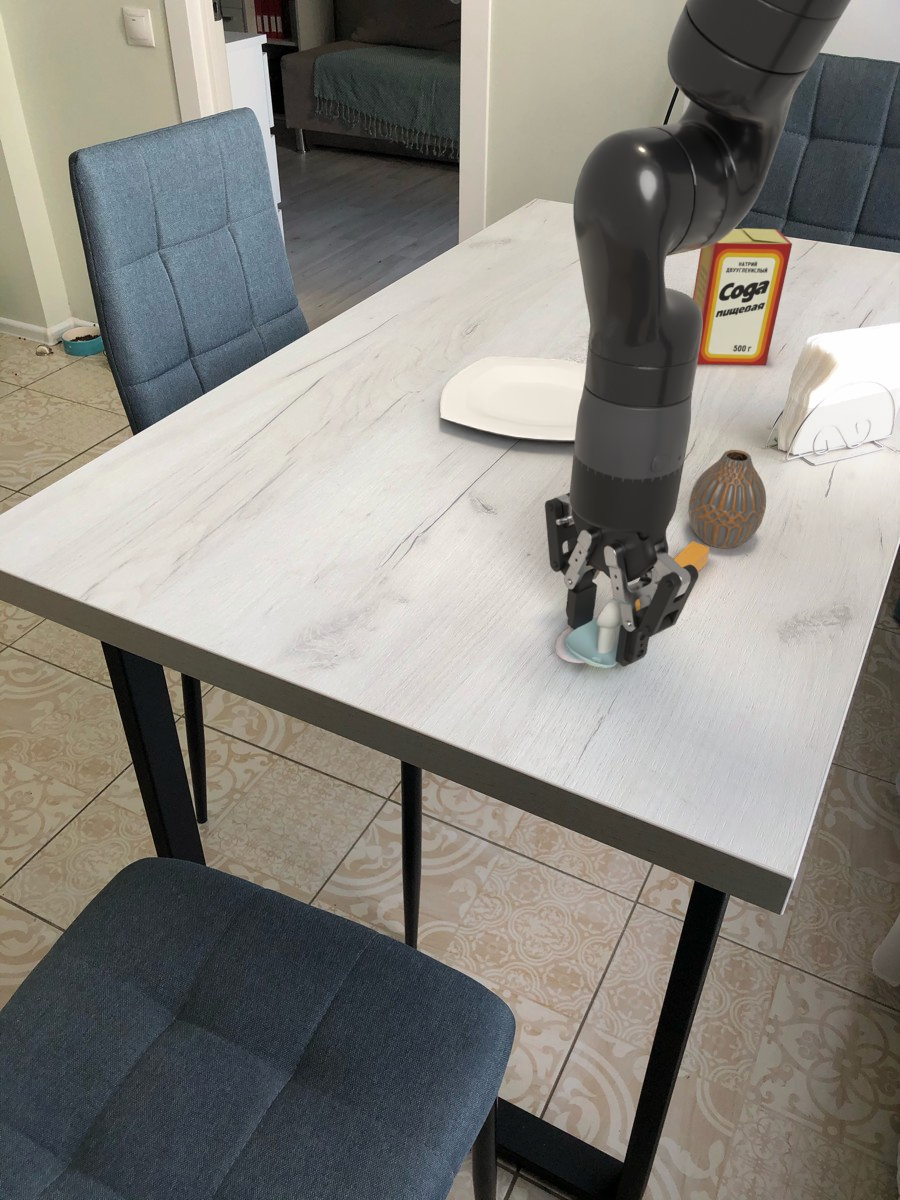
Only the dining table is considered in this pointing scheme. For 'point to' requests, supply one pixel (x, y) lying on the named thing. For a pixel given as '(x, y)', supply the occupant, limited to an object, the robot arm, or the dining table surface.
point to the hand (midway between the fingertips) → (603, 641)
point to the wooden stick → (690, 558)
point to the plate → (517, 397)
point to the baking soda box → (740, 295)
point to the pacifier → (593, 639)
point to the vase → (728, 501)
